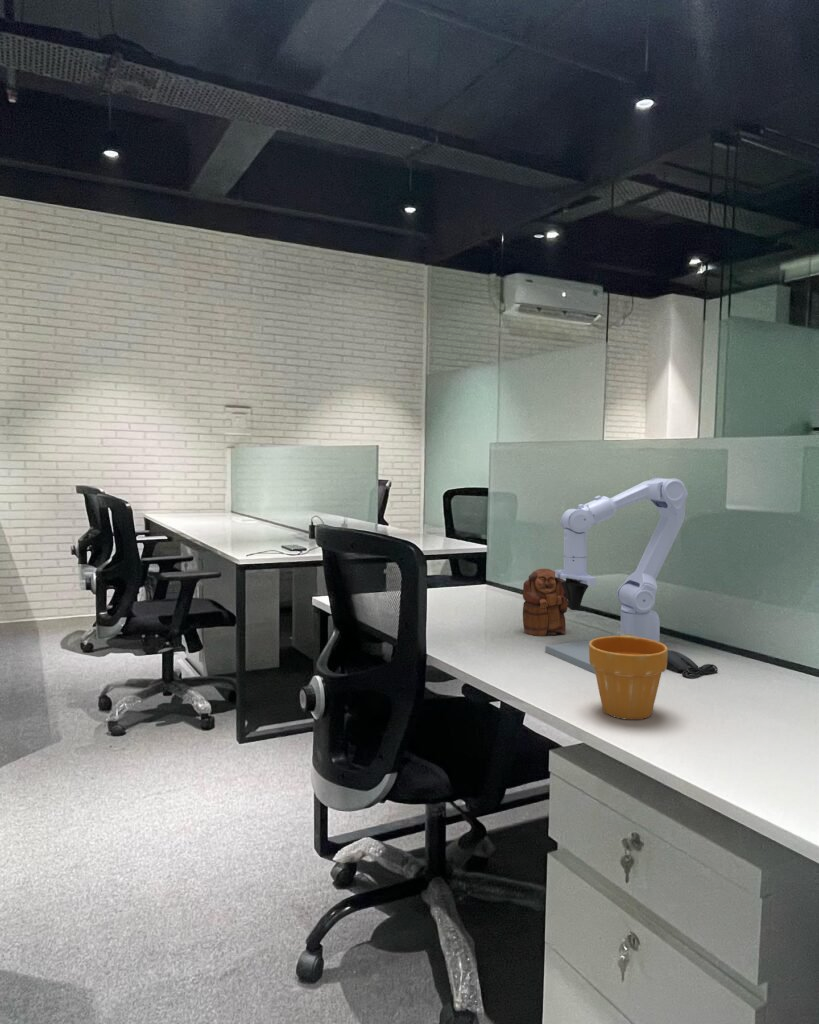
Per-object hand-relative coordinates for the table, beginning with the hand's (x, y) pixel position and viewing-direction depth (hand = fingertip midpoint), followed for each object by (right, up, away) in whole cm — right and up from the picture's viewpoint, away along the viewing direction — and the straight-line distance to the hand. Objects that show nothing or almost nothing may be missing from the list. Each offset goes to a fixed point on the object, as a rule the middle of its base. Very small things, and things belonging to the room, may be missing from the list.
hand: (574, 609), depth 182 cm
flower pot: (-1, -13, -46) cm, 48 cm away
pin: (+8, -10, -18) cm, 22 cm away
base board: (+4, -11, -11) cm, 16 cm away
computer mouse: (+20, -12, -17) cm, 29 cm away
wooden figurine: (-4, -9, +16) cm, 19 cm away
